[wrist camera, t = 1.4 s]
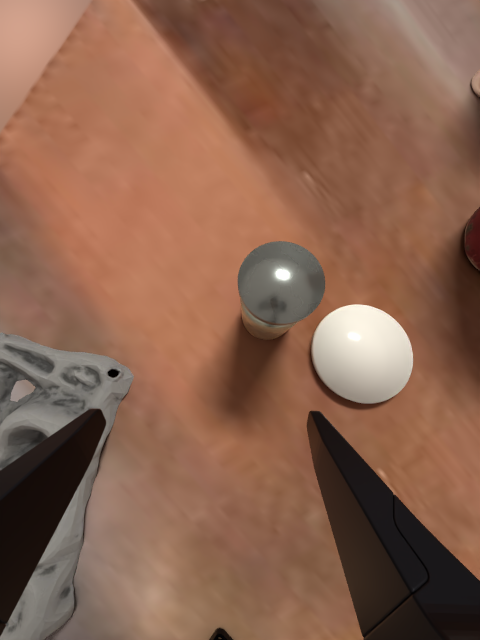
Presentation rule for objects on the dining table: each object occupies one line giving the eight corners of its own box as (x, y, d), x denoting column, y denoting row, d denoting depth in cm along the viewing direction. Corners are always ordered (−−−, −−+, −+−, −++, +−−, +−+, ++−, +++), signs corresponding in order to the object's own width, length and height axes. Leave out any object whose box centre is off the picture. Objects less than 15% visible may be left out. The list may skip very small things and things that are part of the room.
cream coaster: (425, 346, 23) (431, 345, 22) (372, 423, 21) (377, 426, 21) (345, 289, 24) (349, 286, 24) (291, 358, 23) (293, 358, 22)
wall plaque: (70, 632, 19) (26, 700, 15) (-113, 565, 20) (-196, 611, 17) (154, 367, 24) (136, 368, 20) (-1, 327, 25) (-46, 320, 21)
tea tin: (302, 311, 24) (342, 274, 14) (270, 351, 23) (289, 341, 13) (262, 280, 25) (273, 226, 15) (230, 318, 24) (220, 286, 14)
